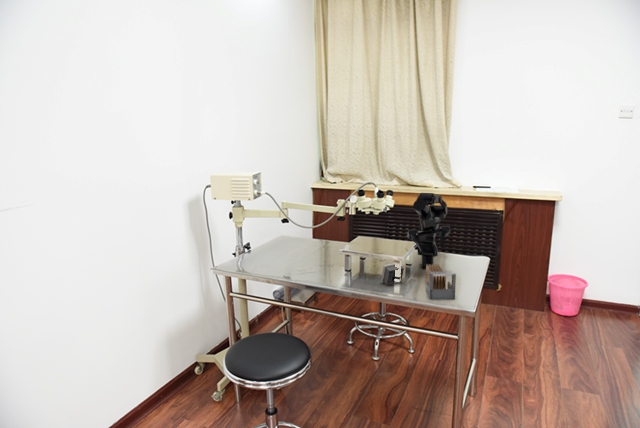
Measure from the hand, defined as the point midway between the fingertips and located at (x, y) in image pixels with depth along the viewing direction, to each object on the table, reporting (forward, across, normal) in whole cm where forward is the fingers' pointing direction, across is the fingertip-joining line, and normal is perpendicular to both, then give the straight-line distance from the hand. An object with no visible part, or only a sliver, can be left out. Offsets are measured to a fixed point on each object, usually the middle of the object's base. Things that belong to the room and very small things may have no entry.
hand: (431, 250), depth 182 cm
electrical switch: (+13, -19, +3) cm, 23 cm away
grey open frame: (+22, -2, -8) cm, 23 cm away
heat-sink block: (+17, -2, 0) cm, 17 cm away
